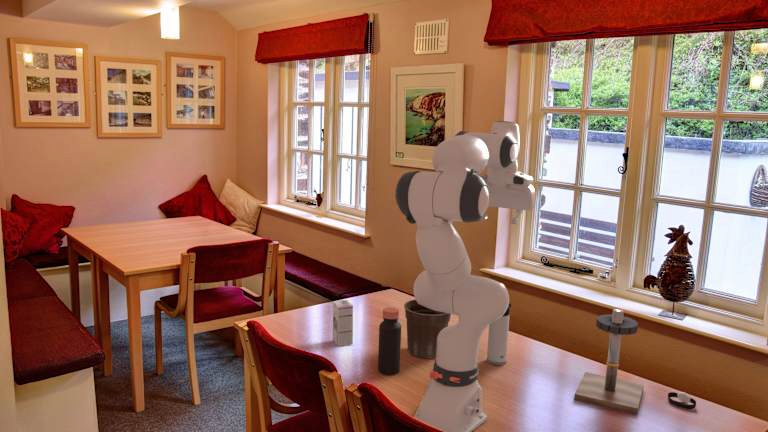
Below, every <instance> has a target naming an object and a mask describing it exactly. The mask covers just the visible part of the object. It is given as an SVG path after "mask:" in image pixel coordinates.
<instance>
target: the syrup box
mask: <svg viewBox="0 0 768 432" xmlns="http://www.w3.org/2000/svg"><path fill="white" fill-rule="evenodd" d="M353 337H354V304H352V303H351V302H350V301H349V300H348V299H343V300H342V299H341V300H334V301H332V342H333V343H334V344H335V343H336V344H335V345H336V346H337V347H343V346H342V345H347V346H351V344H353V343H354V342H353V341H354V340H353V339H354V338H353ZM353 345H354V344H353Z"/></svg>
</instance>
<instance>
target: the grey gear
mask: <svg viewBox="0 0 768 432" xmlns="http://www.w3.org/2000/svg"><path fill="white" fill-rule="evenodd" d="M595 326H596V327H597V328H598V329H600V330H601V331H603V332H606V333H609V334H610V333H613V334H620V335H621V336H624V335H625V336H628V335H633V334H636V333H637V332H638V329H639V323H638V322H637V321H636V320H635V319H634V318H631V317H628V316H625V315H623V323H614V322H612V314H608V313H607V314H606V313H605V314H601V315H598V316H597V317H596V323H595Z"/></svg>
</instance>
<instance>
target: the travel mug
mask: <svg viewBox="0 0 768 432" xmlns="http://www.w3.org/2000/svg"><path fill="white" fill-rule="evenodd" d="M510 308H512V303H510V302H509V305H508V308H507V310H506V312H505V313H504V315H503V316H502V317H501V318H499V319H498V320H495V321H494V322H492V323H491V324H490V325H488V336H487V351H486V361H487V363H489V364H490V365H493V366H504V365H505V364H506V363H507V357H508V356H507V355H508V354H507V353H508V340H509V339H508V338H509V330H510V329H509V328H510V315H511V314H510V311H511V309H510Z"/></svg>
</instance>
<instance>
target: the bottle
mask: <svg viewBox="0 0 768 432" xmlns="http://www.w3.org/2000/svg"><path fill="white" fill-rule="evenodd" d="M399 316H400V310H399V309H398V308H396V307H390V306H388V307H385V308H383V309H382V318H383V320H382V321H381V322H380V324H379V326H378V327H379V328H378V351H377V352H378V353H377V356H378V358H377V372H378V373H379V374H382V375H385V376H394V375H397V374H399V372H400V368H401V347H402V345H401V344H402V343H401V342H402V325H401V323H400V322H399V321H398V320H399Z"/></svg>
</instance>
